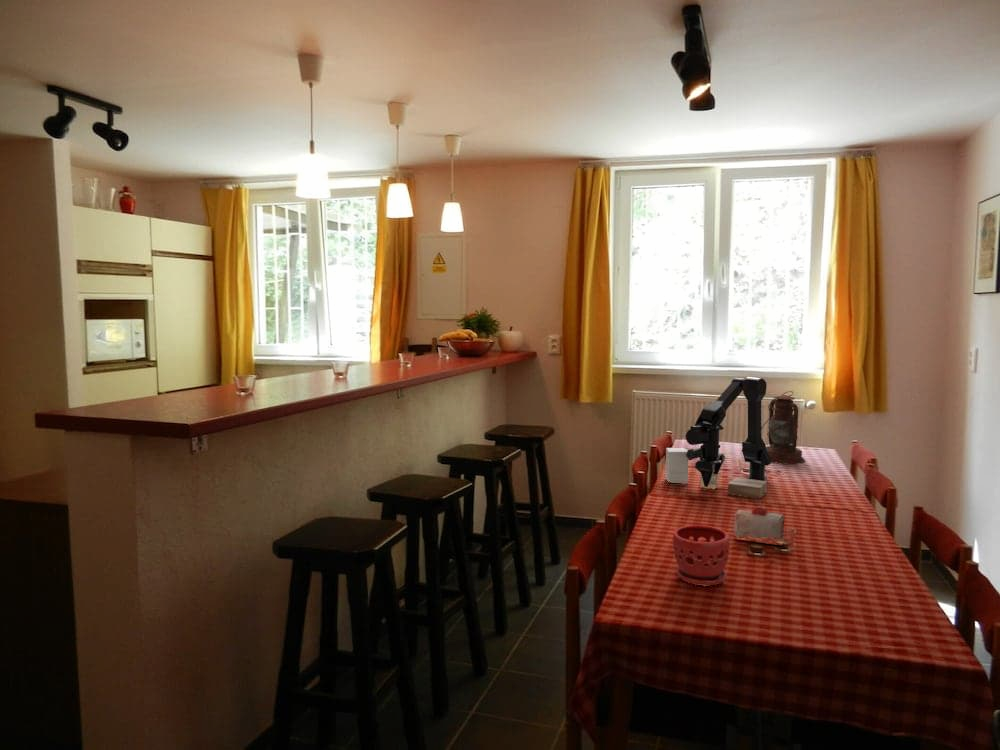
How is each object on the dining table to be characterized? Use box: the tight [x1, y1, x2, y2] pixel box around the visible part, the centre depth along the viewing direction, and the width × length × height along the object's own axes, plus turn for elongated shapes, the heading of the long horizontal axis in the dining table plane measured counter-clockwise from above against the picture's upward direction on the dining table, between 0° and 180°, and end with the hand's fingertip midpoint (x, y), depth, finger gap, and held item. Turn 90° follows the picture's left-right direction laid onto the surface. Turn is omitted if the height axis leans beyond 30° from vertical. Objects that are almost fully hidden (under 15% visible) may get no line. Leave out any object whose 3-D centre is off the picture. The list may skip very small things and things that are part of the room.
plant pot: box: [672, 524, 730, 585], centre depth 168 cm, size 13×13×12 cm
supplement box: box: [665, 447, 689, 483], centre depth 262 cm, size 7×7×13 cm
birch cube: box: [700, 473, 719, 489], centre depth 253 cm, size 5×5×5 cm
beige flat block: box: [727, 477, 768, 500], centre depth 246 cm, size 11×11×4 cm
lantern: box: [761, 390, 806, 465], centre depth 301 cm, size 19×19×30 cm
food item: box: [733, 505, 785, 539], centre depth 196 cm, size 14×8×10 cm, turn 64°
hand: (709, 483), depth 254 cm, fingers open, 9 cm apart
